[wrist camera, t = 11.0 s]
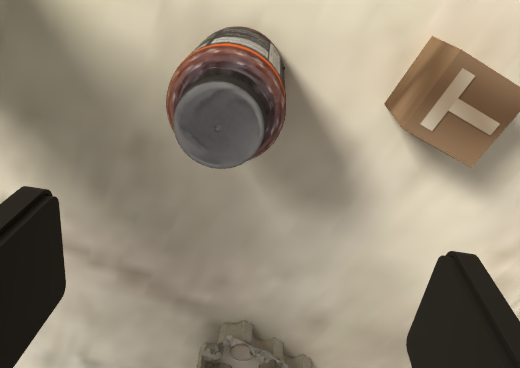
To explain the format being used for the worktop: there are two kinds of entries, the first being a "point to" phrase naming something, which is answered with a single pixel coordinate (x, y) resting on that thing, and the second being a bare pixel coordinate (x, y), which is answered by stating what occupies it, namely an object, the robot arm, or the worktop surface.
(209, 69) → the supplement bottle
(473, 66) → the letter t block
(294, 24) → the worktop surface
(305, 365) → the egg carton
